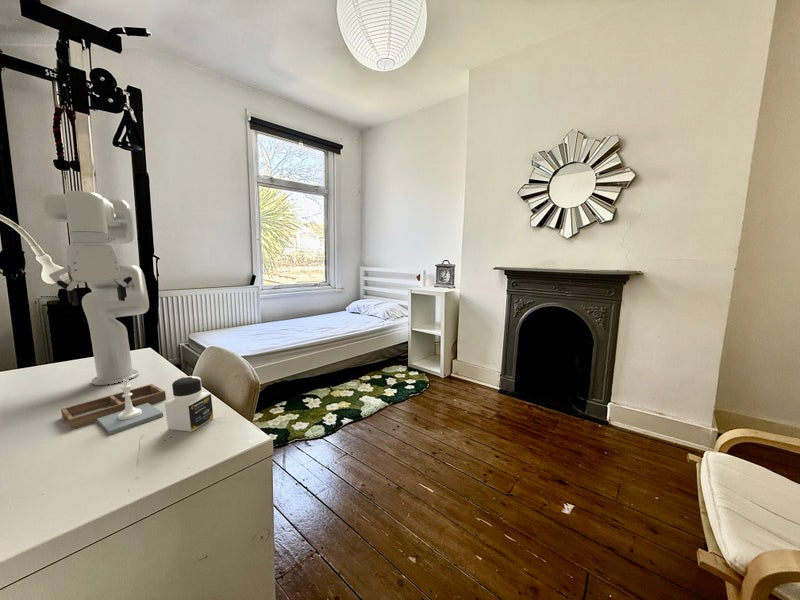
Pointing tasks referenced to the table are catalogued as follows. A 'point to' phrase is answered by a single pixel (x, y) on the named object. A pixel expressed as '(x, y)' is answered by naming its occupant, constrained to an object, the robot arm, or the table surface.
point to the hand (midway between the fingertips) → (99, 302)
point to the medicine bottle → (188, 405)
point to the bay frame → (109, 400)
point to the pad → (116, 425)
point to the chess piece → (128, 403)
